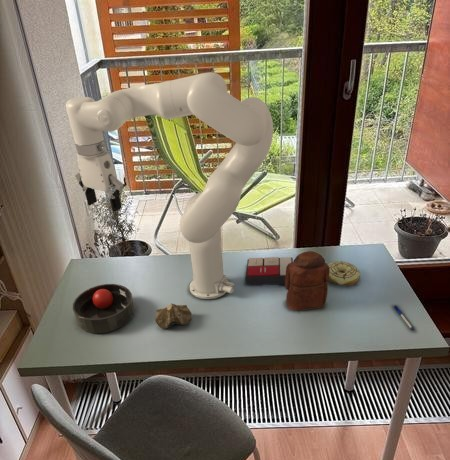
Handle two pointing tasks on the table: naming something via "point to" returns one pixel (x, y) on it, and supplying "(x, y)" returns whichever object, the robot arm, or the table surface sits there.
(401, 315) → the ballpoint pen
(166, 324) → the fossilized seashell
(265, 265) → the miniature drawer cabinet
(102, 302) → the red ball
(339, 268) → the decorated donut
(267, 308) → the table surface
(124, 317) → the bowl
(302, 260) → the wooden figurine
